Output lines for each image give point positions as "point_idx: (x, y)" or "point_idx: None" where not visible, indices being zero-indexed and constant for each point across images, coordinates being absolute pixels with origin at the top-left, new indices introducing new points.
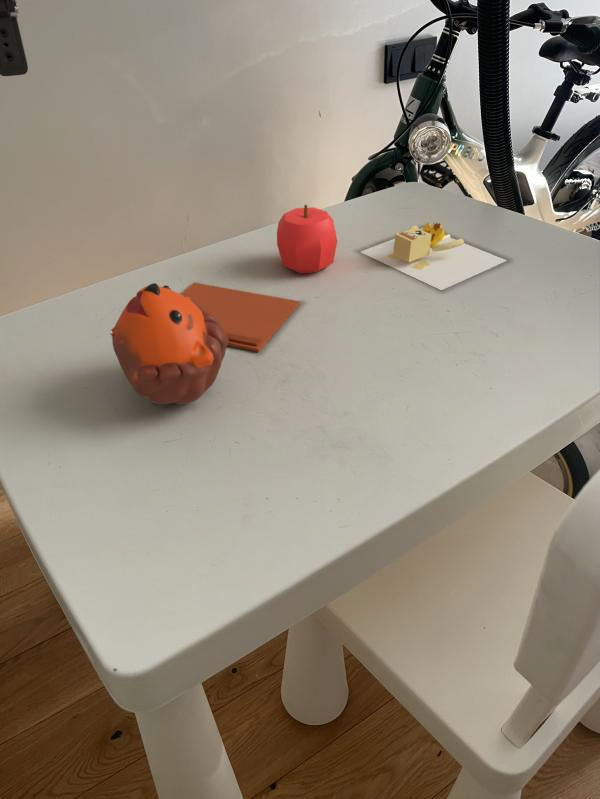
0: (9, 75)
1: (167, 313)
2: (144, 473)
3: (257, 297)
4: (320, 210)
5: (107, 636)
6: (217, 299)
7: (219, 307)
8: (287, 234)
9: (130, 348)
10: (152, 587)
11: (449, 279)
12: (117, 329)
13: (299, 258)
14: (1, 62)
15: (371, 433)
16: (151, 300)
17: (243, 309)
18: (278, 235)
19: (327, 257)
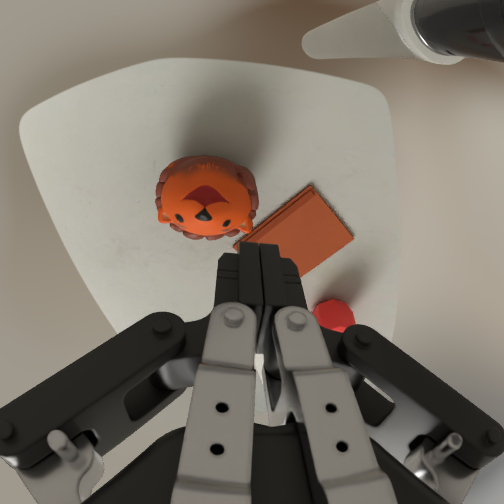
0: (237, 253)
1: (181, 214)
2: (128, 142)
3: (303, 269)
4: None
5: (32, 113)
6: (318, 245)
7: (305, 243)
8: (330, 319)
9: (180, 172)
10: (49, 135)
11: (260, 361)
12: (203, 169)
13: (317, 312)
14: (219, 261)
15: (125, 268)
16: (190, 209)
17: (292, 256)
18: (338, 314)
19: None
